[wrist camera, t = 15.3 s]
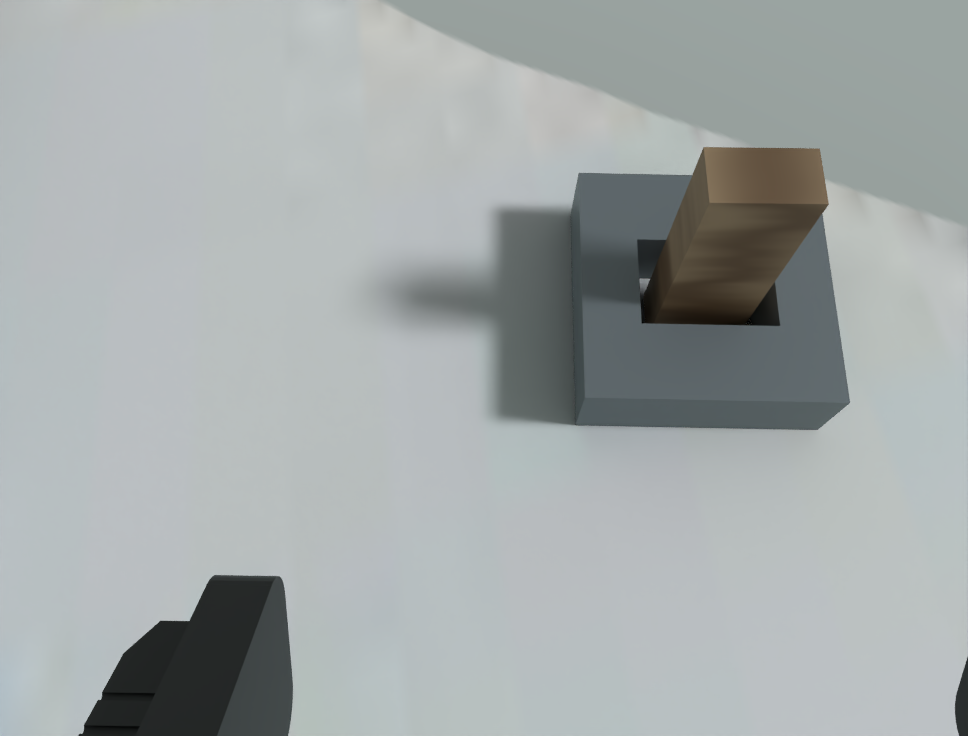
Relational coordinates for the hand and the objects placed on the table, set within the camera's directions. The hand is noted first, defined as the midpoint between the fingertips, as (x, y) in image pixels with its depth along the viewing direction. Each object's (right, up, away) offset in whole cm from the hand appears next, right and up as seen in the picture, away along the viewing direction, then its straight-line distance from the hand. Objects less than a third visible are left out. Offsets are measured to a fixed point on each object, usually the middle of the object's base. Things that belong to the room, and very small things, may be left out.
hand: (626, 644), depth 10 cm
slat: (+9, +6, +35) cm, 37 cm away
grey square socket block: (+9, +6, +35) cm, 37 cm away
